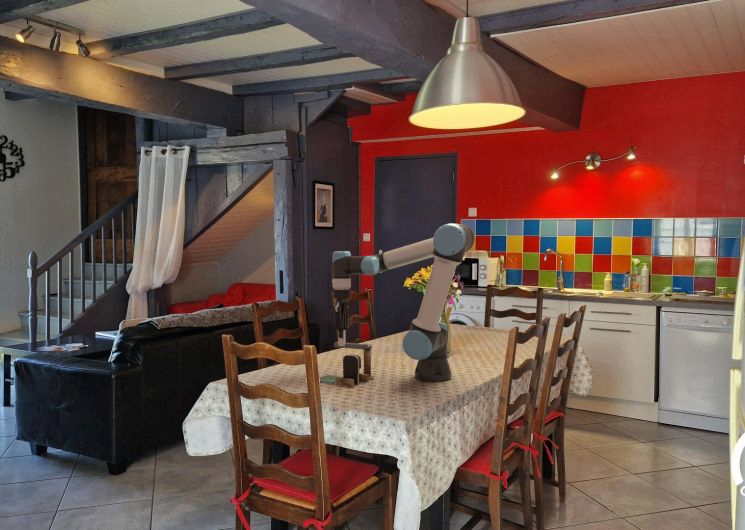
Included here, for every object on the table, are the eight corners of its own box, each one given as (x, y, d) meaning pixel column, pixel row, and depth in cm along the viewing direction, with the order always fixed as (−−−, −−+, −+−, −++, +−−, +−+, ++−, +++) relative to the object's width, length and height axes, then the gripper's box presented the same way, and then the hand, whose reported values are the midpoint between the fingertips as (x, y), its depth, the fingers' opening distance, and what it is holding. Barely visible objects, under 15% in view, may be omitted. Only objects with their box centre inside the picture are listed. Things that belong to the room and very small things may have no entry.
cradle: (379, 378, 261) (378, 350, 260) (352, 387, 245) (352, 358, 244) (362, 376, 265) (362, 348, 265) (335, 385, 249) (335, 356, 249)
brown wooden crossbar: (369, 350, 258) (369, 346, 258) (333, 347, 265) (333, 342, 265) (373, 348, 261) (373, 344, 261) (337, 345, 269) (337, 341, 269)
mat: (347, 379, 259) (347, 377, 259) (332, 384, 251) (332, 382, 251) (328, 376, 265) (328, 374, 265) (312, 381, 257) (312, 379, 257)
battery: (362, 383, 252) (362, 354, 251) (357, 385, 249) (357, 356, 248) (347, 381, 255) (347, 353, 255) (342, 383, 252) (342, 355, 251)
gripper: (338, 287, 269) (339, 342, 270) (327, 289, 257) (327, 347, 258) (355, 287, 267) (355, 343, 268) (344, 290, 255) (344, 348, 256)
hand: (341, 345), depth 263 cm, fingers closed
